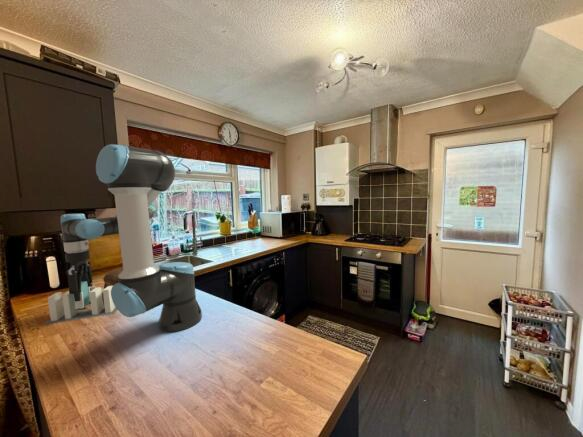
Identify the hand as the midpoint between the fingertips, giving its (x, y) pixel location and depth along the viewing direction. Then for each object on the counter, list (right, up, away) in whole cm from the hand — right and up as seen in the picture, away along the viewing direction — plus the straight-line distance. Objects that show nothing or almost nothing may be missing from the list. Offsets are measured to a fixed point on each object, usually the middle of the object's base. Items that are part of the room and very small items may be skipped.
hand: (83, 304), depth 100 cm
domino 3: (+5, -4, +2) cm, 6 cm away
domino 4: (+9, -3, +3) cm, 10 cm away
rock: (-13, -4, +15) cm, 20 cm away
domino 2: (-4, -4, -1) cm, 6 cm away
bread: (+8, -3, +21) cm, 23 cm away
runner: (0, -4, 0) cm, 4 cm away
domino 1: (-8, -5, -2) cm, 10 cm away
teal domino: (0, -1, 0) cm, 1 cm away
